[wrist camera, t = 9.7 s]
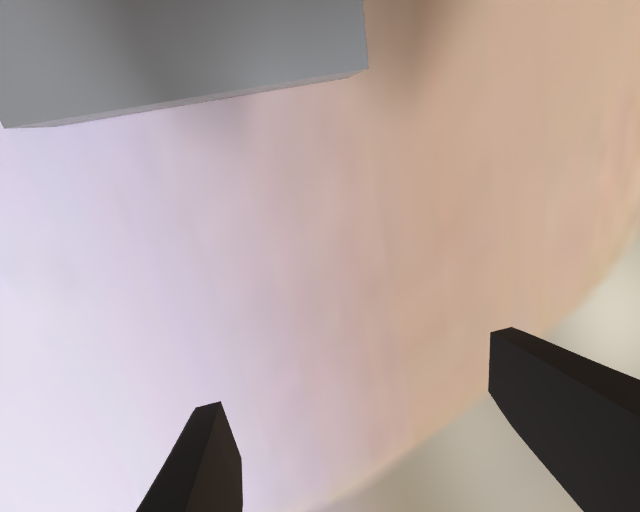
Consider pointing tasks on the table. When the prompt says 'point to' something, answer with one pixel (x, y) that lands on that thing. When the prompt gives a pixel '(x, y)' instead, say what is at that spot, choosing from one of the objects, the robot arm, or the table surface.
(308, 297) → the table surface
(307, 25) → the socket block
